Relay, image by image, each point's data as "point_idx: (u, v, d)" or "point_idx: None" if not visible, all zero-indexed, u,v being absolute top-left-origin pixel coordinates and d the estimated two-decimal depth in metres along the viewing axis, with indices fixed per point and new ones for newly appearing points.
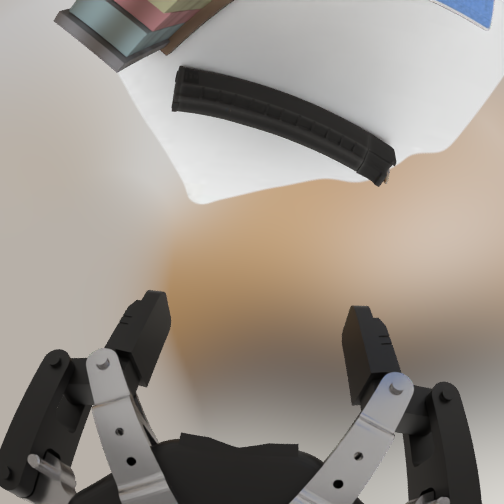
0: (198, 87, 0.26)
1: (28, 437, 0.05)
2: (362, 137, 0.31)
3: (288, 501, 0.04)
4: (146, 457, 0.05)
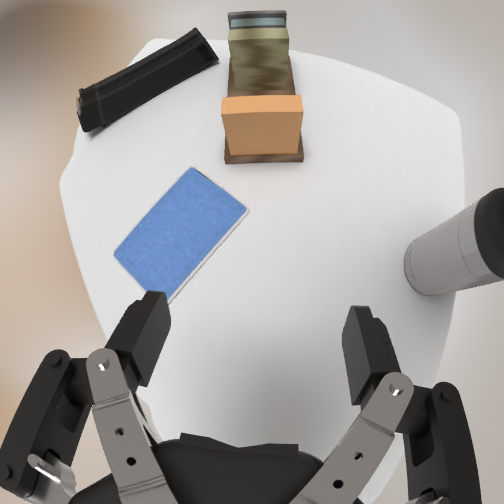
0: (194, 45, 0.41)
1: (28, 437, 0.05)
2: (105, 108, 0.42)
3: (288, 501, 0.04)
4: (146, 457, 0.05)
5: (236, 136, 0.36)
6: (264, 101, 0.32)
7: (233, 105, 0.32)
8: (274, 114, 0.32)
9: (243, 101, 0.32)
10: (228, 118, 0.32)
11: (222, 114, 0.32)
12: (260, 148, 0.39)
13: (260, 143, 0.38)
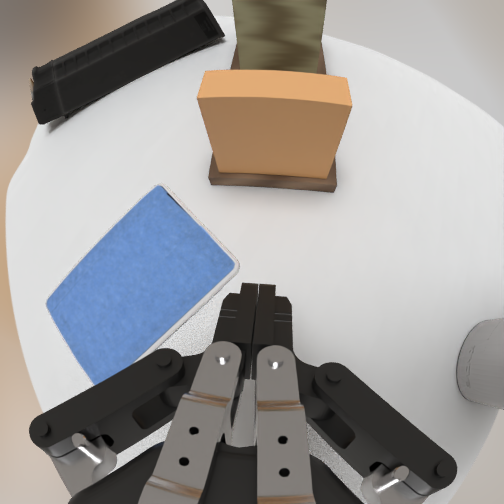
0: (191, 12, 0.26)
1: (88, 418, 0.06)
2: (65, 93, 0.28)
3: None
4: (201, 466, 0.05)
5: (227, 140, 0.21)
6: (280, 80, 0.16)
7: (222, 84, 0.16)
8: (298, 104, 0.16)
9: (241, 77, 0.16)
10: (211, 106, 0.17)
11: (199, 98, 0.16)
12: (267, 164, 0.24)
13: (268, 156, 0.23)
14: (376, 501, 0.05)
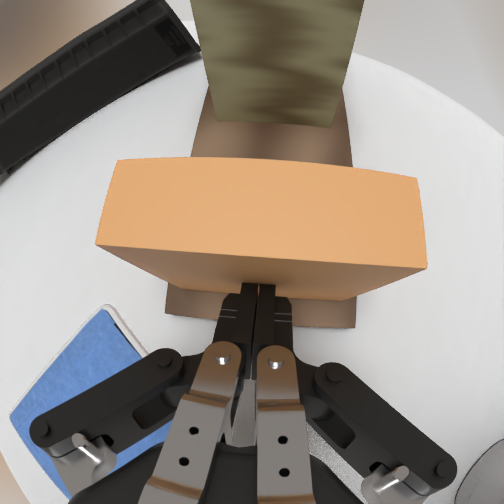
0: (149, 21, 0.18)
1: (88, 418, 0.06)
2: None
3: None
4: (201, 466, 0.05)
5: (180, 277, 0.12)
6: (275, 193, 0.08)
7: (144, 204, 0.08)
8: (312, 264, 0.08)
9: (186, 184, 0.08)
10: (128, 253, 0.09)
11: (100, 244, 0.08)
12: None
13: None
14: (376, 500, 0.05)
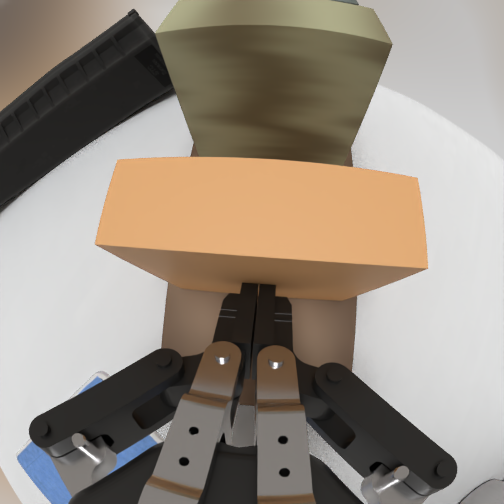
0: (129, 50, 0.16)
1: (88, 418, 0.06)
2: None
3: None
4: (201, 466, 0.05)
5: (180, 276, 0.12)
6: (275, 193, 0.08)
7: (144, 204, 0.08)
8: (313, 264, 0.08)
9: (186, 184, 0.08)
10: (129, 253, 0.09)
11: (100, 244, 0.08)
12: None
13: None
14: (376, 500, 0.05)
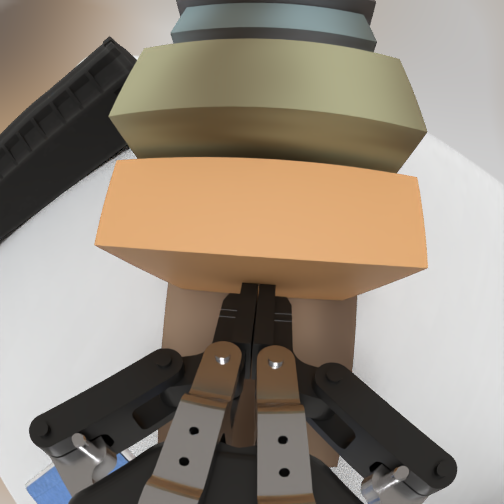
0: (107, 86, 0.15)
1: (88, 418, 0.06)
2: None
3: None
4: (201, 467, 0.05)
5: (180, 277, 0.12)
6: (274, 193, 0.08)
7: (144, 204, 0.08)
8: (312, 264, 0.08)
9: (185, 184, 0.08)
10: (128, 254, 0.09)
11: (100, 244, 0.08)
12: None
13: None
14: (376, 500, 0.05)
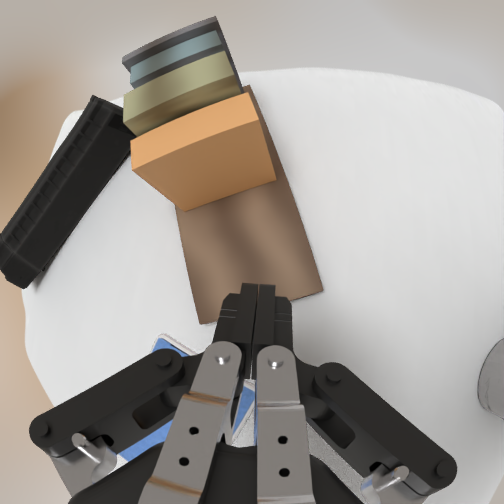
0: (102, 122, 0.27)
1: (88, 418, 0.06)
2: (30, 256, 0.30)
3: None
4: (201, 466, 0.05)
5: (175, 188, 0.24)
6: (191, 123, 0.19)
7: (147, 148, 0.19)
8: (213, 139, 0.19)
9: (160, 135, 0.19)
10: (146, 171, 0.20)
11: (134, 169, 0.19)
12: (219, 190, 0.27)
13: (216, 184, 0.25)
14: (376, 500, 0.05)
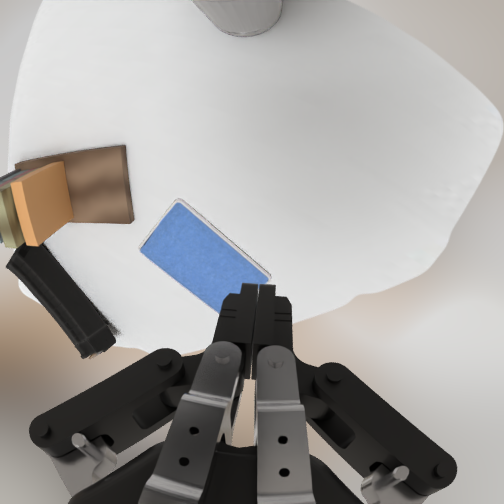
0: (22, 261, 0.40)
1: (88, 418, 0.06)
2: (93, 328, 0.50)
3: None
4: (201, 466, 0.05)
5: (54, 222, 0.36)
6: (21, 212, 0.30)
7: (30, 236, 0.31)
8: (28, 203, 0.29)
9: (25, 229, 0.31)
10: (40, 238, 0.33)
11: (38, 245, 0.32)
12: (62, 196, 0.37)
13: (57, 198, 0.36)
14: (376, 500, 0.05)
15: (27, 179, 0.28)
